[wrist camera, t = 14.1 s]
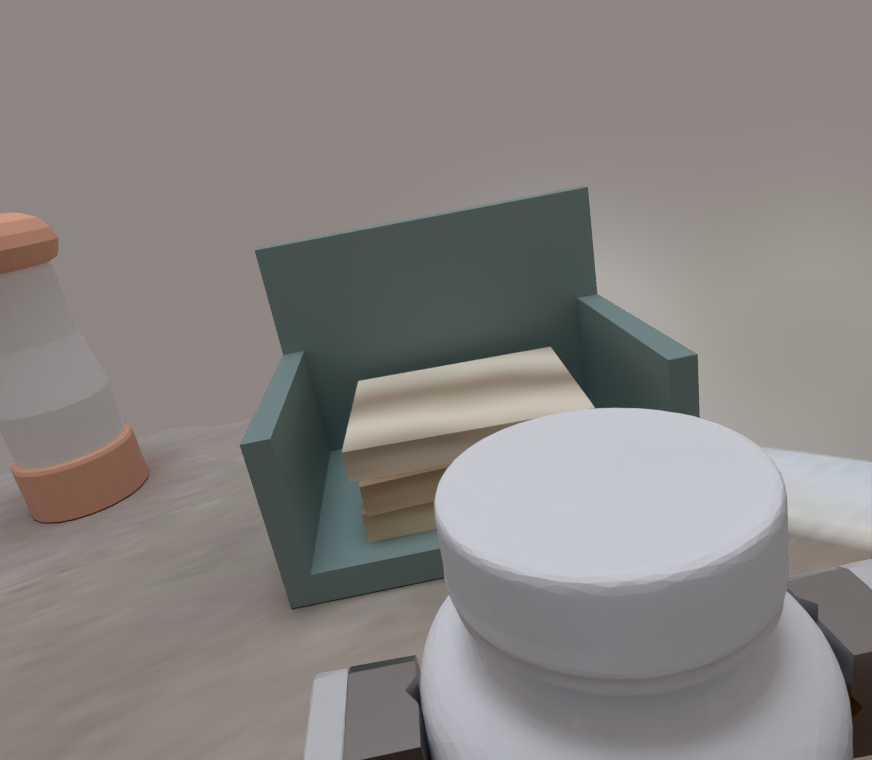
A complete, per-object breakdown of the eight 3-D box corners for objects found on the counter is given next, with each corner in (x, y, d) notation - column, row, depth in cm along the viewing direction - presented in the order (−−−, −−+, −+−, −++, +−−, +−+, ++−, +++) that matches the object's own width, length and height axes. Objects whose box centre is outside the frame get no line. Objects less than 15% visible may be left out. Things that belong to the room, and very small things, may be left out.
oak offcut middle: (606, 461, 28) (604, 431, 27) (366, 516, 27) (359, 487, 27) (545, 393, 36) (542, 369, 36) (361, 434, 36) (355, 410, 35)
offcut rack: (702, 524, 27) (692, 200, 23) (291, 608, 27) (192, 295, 22) (601, 411, 40) (581, 186, 35) (318, 467, 39) (258, 247, 35)
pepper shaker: (13, 535, 38) (-141, 218, 31) (53, 482, 45) (-66, 211, 38) (136, 503, 39) (12, 191, 33) (157, 456, 46) (59, 189, 39)
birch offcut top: (597, 439, 27) (594, 407, 26) (349, 482, 27) (341, 452, 27) (553, 371, 35) (550, 346, 35) (363, 405, 36) (358, 381, 35)
